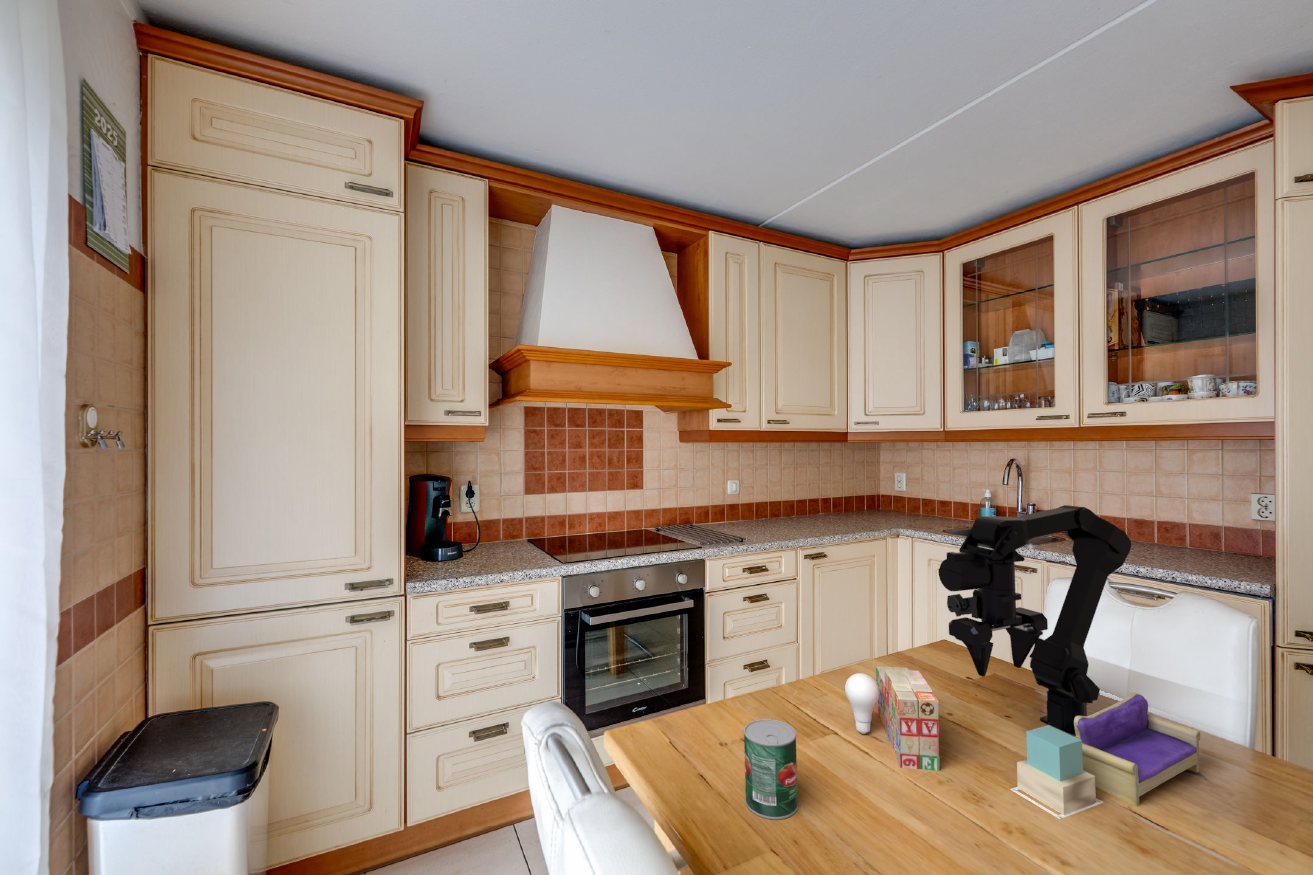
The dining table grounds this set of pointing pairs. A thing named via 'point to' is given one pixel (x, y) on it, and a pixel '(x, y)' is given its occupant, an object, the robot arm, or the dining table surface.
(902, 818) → the dining table surface
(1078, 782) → the block
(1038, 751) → the teal block
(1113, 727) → the toy sofa
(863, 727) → the lightbulb
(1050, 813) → the building mat
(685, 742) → the dining table surface
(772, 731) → the canned tomato
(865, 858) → the dining table surface
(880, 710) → the stack of blocks
